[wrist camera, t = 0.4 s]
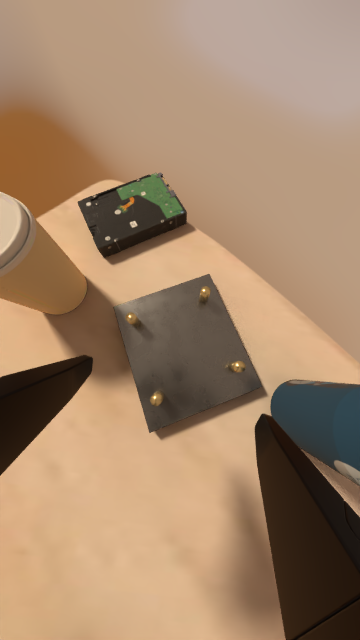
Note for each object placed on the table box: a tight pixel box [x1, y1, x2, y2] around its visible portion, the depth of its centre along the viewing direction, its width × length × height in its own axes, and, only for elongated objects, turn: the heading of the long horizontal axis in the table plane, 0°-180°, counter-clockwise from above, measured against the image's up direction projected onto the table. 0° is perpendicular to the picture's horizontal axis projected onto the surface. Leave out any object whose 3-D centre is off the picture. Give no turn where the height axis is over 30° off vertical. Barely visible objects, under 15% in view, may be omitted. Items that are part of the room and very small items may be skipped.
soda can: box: [271, 380, 360, 486], centre depth 16 cm, size 7×7×12 cm
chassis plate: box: [114, 274, 262, 433], centre depth 22 cm, size 16×14×4 cm
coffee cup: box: [0, 192, 87, 315], centre depth 21 cm, size 9×9×12 cm
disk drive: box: [78, 173, 187, 258], centre depth 29 cm, size 10×3×15 cm
